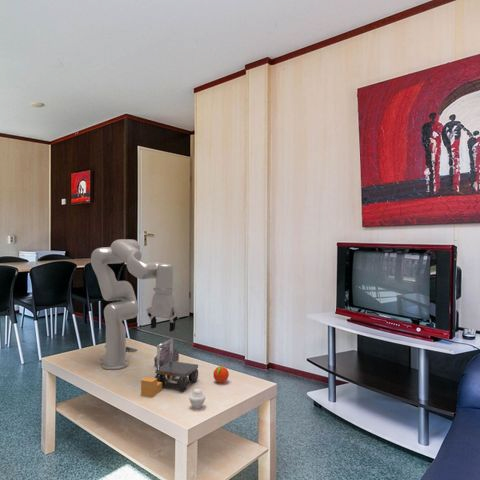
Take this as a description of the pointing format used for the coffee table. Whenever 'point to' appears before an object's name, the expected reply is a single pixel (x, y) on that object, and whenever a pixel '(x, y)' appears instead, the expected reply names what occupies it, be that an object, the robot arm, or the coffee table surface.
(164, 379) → the trolley
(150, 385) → the block
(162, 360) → the stone
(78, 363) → the coffee table surface
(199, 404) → the white lidded jar
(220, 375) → the clementine
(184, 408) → the coffee table surface
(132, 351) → the grey flat jagged piece
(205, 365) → the coffee table surface
